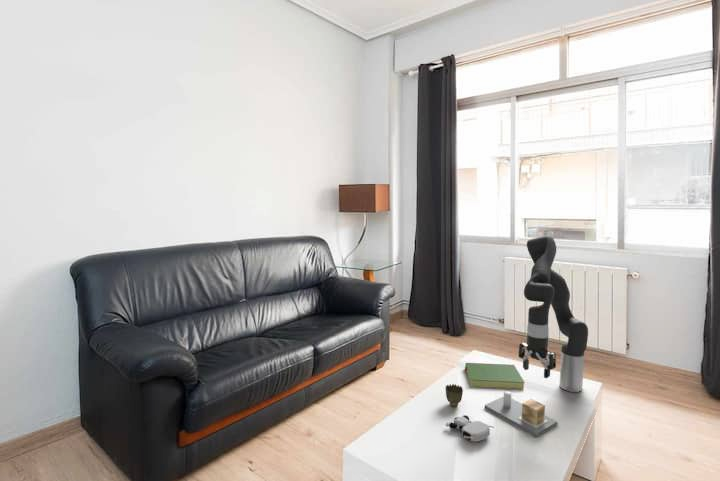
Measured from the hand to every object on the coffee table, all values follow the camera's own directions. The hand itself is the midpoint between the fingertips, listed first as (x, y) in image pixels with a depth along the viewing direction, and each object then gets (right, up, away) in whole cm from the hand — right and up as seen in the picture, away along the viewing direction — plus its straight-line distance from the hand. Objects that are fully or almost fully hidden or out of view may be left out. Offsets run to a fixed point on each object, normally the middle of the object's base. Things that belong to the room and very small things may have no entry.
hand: (536, 373), depth 154 cm
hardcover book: (-4, -17, +40) cm, 44 cm away
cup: (-29, -19, +16) cm, 38 cm away
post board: (-4, -20, +7) cm, 22 cm away
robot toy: (-27, -22, -4) cm, 35 cm away
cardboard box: (0, -19, +2) cm, 19 cm away
